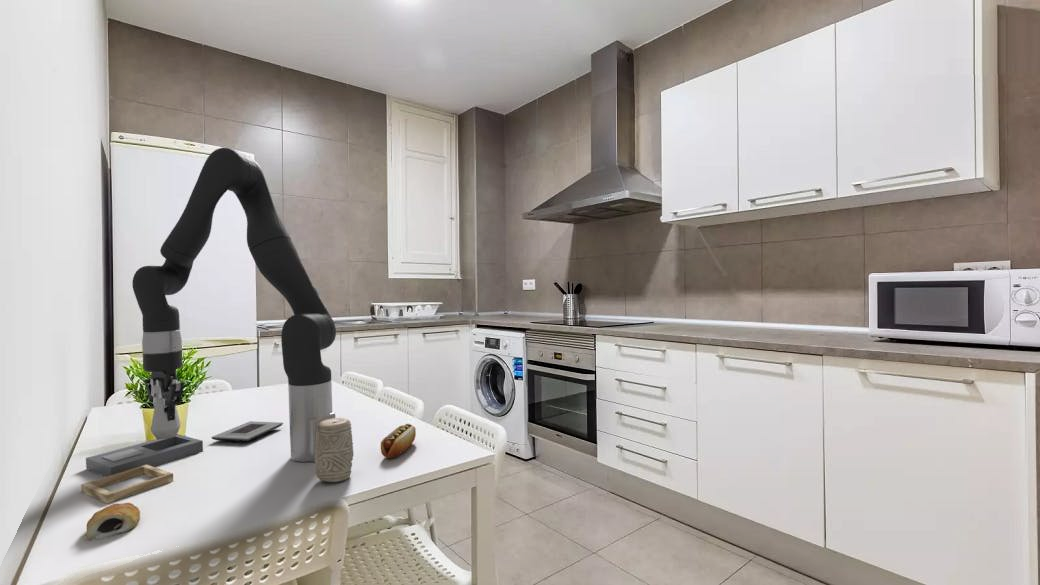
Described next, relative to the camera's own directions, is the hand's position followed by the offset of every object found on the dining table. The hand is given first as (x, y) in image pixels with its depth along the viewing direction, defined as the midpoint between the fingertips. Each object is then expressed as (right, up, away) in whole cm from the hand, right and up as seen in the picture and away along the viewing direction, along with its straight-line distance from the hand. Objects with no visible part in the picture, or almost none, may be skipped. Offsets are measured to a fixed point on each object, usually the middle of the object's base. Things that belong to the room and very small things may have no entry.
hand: (165, 421), depth 113 cm
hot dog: (+56, -7, -1) cm, 57 cm away
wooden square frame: (+6, -8, -18) cm, 20 cm away
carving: (+47, -8, -16) cm, 50 cm away
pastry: (+16, -9, -34) cm, 38 cm away
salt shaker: (0, -4, 0) cm, 4 cm away
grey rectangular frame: (-2, -8, -3) cm, 9 cm away
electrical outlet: (+13, -8, +13) cm, 20 cm away
